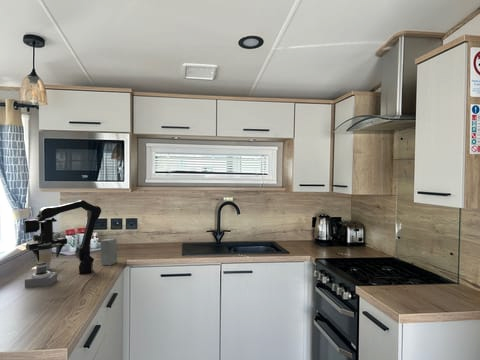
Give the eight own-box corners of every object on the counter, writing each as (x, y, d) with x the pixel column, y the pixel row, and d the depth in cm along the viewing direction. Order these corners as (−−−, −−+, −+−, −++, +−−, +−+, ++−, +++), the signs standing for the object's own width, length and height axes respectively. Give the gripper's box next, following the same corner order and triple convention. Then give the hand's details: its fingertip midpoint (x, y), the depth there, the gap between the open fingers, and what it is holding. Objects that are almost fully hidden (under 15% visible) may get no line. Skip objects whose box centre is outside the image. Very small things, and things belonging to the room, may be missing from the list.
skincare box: (109, 265, 199) (109, 240, 199) (99, 265, 201) (99, 240, 200) (117, 262, 207) (117, 238, 207) (108, 261, 209) (107, 237, 209)
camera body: (57, 280, 173) (56, 269, 172) (50, 285, 164) (50, 275, 164) (32, 281, 170) (32, 271, 170) (24, 287, 161) (24, 276, 161)
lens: (42, 274, 170) (42, 261, 170) (48, 275, 168) (48, 262, 168) (34, 276, 166) (34, 263, 165) (40, 277, 164) (40, 264, 164)
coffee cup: (32, 272, 186) (32, 247, 186) (38, 267, 196) (37, 243, 195) (50, 271, 189) (50, 246, 189) (55, 266, 198) (55, 242, 198)
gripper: (59, 226, 183) (60, 253, 184) (21, 231, 169) (22, 260, 169) (67, 228, 176) (68, 256, 177) (29, 234, 162) (30, 264, 162)
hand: (47, 259), depth 172 cm, fingers open, 9 cm apart
